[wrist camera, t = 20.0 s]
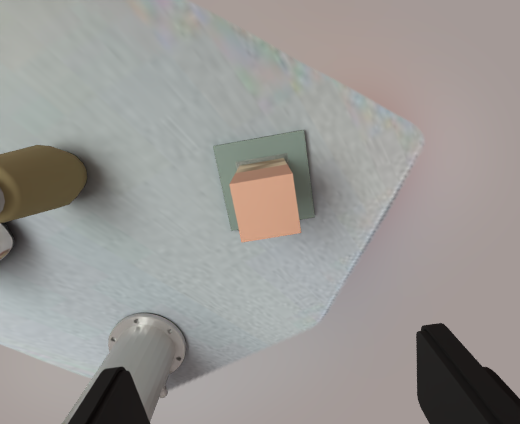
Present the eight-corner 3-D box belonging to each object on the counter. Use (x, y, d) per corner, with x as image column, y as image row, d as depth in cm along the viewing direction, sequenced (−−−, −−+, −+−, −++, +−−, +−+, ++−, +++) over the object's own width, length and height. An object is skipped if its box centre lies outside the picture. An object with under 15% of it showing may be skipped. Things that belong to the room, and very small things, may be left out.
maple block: (283, 157, 38) (287, 164, 32) (290, 201, 40) (294, 214, 34) (239, 165, 38) (235, 173, 33) (247, 208, 40) (245, 222, 35)
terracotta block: (294, 214, 34) (301, 232, 28) (245, 222, 35) (241, 242, 29) (287, 164, 32) (292, 173, 27) (235, 173, 33) (229, 184, 27)
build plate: (313, 215, 42) (314, 217, 41) (232, 228, 42) (231, 230, 41) (302, 129, 38) (303, 130, 37) (214, 145, 39) (213, 146, 38)
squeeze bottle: (27, 176, 40) (-148, 218, 23) (53, 130, 38) (-117, 137, 21) (79, 211, 42) (-50, 274, 25) (106, 168, 40) (-12, 203, 23)
